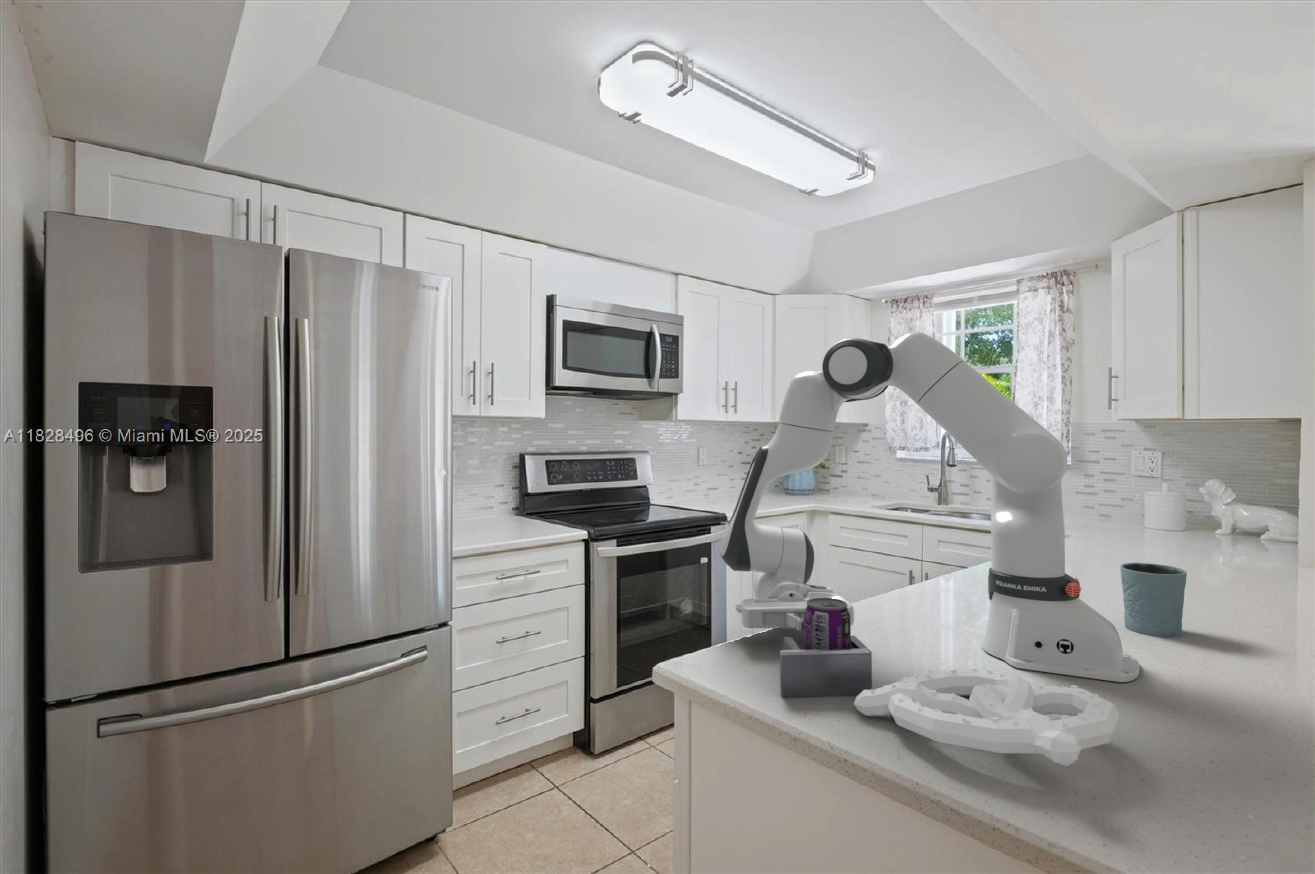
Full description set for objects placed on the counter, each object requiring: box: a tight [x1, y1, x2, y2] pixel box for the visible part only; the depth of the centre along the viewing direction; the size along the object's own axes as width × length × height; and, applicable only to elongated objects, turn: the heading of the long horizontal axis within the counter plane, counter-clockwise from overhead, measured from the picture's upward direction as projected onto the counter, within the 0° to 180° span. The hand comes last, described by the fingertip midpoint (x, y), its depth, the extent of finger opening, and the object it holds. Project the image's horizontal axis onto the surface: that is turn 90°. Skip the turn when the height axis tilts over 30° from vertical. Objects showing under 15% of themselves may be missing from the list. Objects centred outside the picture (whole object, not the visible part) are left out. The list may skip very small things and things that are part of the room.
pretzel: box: [853, 667, 1120, 767], centre depth 81 cm, size 28×24×6 cm
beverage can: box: [803, 598, 852, 650], centre depth 99 cm, size 7×7×12 cm
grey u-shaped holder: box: [779, 635, 873, 698], centre depth 97 cm, size 9×14×7 cm, turn 92°
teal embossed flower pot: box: [1119, 562, 1188, 638], centre depth 121 cm, size 10×10×12 cm
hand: (807, 625), depth 108 cm, fingers closed
